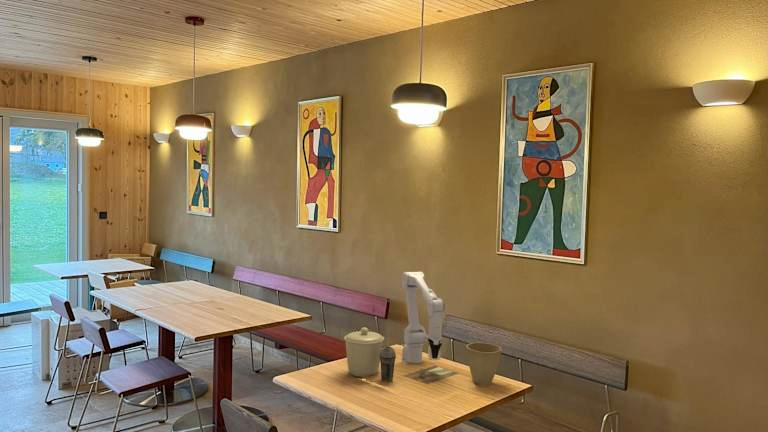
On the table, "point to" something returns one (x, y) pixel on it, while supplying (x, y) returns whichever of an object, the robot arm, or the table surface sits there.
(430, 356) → the beige stacked cube
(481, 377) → the plant pot
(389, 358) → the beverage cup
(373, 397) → the table surface
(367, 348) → the canister
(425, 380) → the post board
